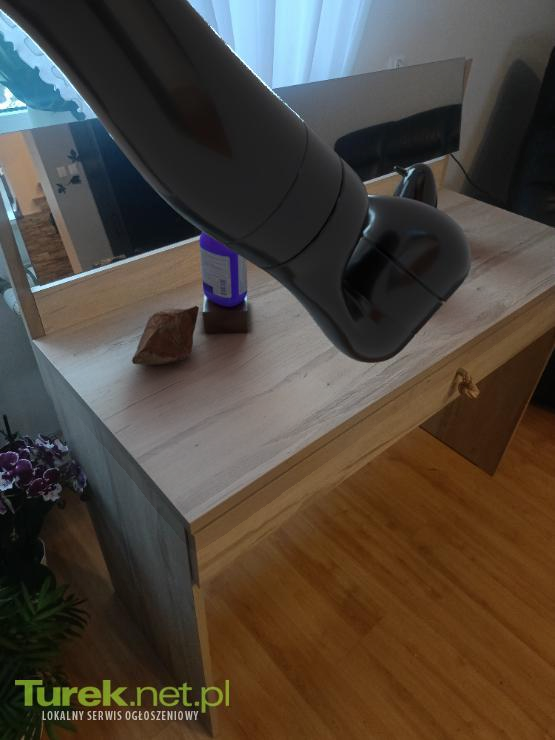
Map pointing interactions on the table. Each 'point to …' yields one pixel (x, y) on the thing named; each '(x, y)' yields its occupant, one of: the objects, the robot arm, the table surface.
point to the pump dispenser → (417, 184)
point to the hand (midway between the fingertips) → (235, 152)
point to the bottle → (222, 272)
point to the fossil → (167, 337)
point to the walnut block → (224, 317)
